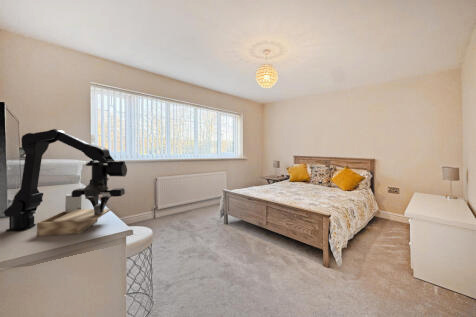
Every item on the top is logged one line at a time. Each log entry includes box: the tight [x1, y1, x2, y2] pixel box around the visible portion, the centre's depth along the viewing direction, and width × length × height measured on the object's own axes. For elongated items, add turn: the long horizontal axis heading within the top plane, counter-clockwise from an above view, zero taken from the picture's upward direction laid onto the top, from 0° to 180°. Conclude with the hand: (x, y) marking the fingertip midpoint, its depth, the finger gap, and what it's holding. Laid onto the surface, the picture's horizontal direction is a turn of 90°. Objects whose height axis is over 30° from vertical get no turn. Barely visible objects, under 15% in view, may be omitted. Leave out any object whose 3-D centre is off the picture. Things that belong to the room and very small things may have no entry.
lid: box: [52, 202, 112, 222], centre depth 89 cm, size 14×16×5 cm
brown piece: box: [36, 210, 99, 237], centre depth 88 cm, size 14×16×5 cm
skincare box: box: [64, 193, 83, 211], centre depth 98 cm, size 6×4×12 cm
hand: (99, 212), depth 90 cm, fingers closed on lid, 2 cm apart
